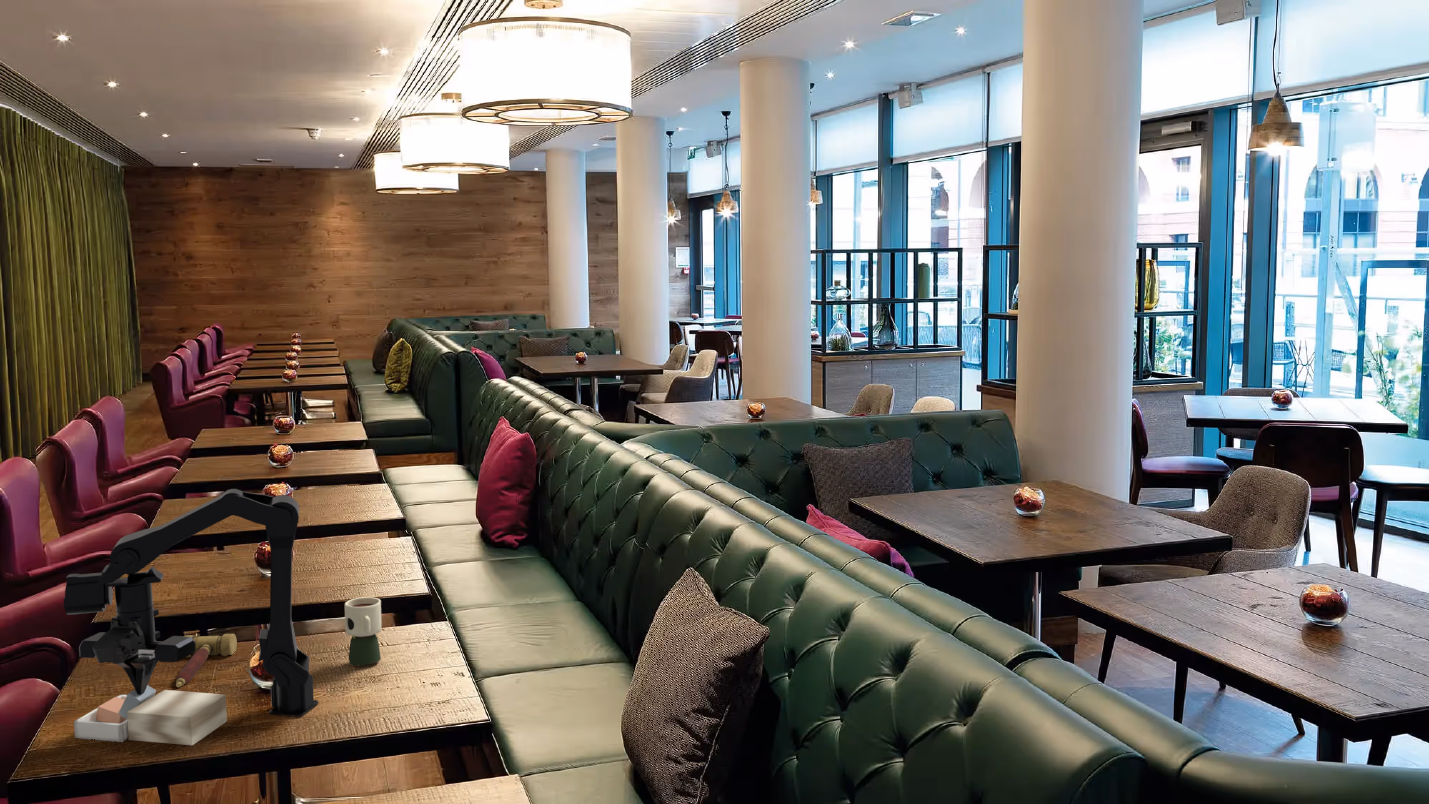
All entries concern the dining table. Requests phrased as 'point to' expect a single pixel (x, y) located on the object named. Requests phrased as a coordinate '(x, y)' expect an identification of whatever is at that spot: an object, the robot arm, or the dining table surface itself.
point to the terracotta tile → (111, 711)
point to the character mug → (363, 629)
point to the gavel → (205, 653)
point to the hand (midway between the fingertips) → (141, 693)
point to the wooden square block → (177, 717)
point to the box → (100, 728)
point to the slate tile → (135, 700)
